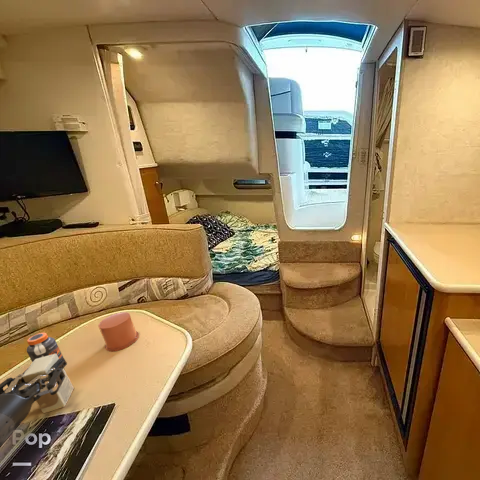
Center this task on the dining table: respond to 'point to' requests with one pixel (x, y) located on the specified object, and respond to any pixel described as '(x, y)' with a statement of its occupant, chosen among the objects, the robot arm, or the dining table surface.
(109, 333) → the upturned cup
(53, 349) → the pill bottle
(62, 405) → the cosmetic box
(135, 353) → the dining table surface
